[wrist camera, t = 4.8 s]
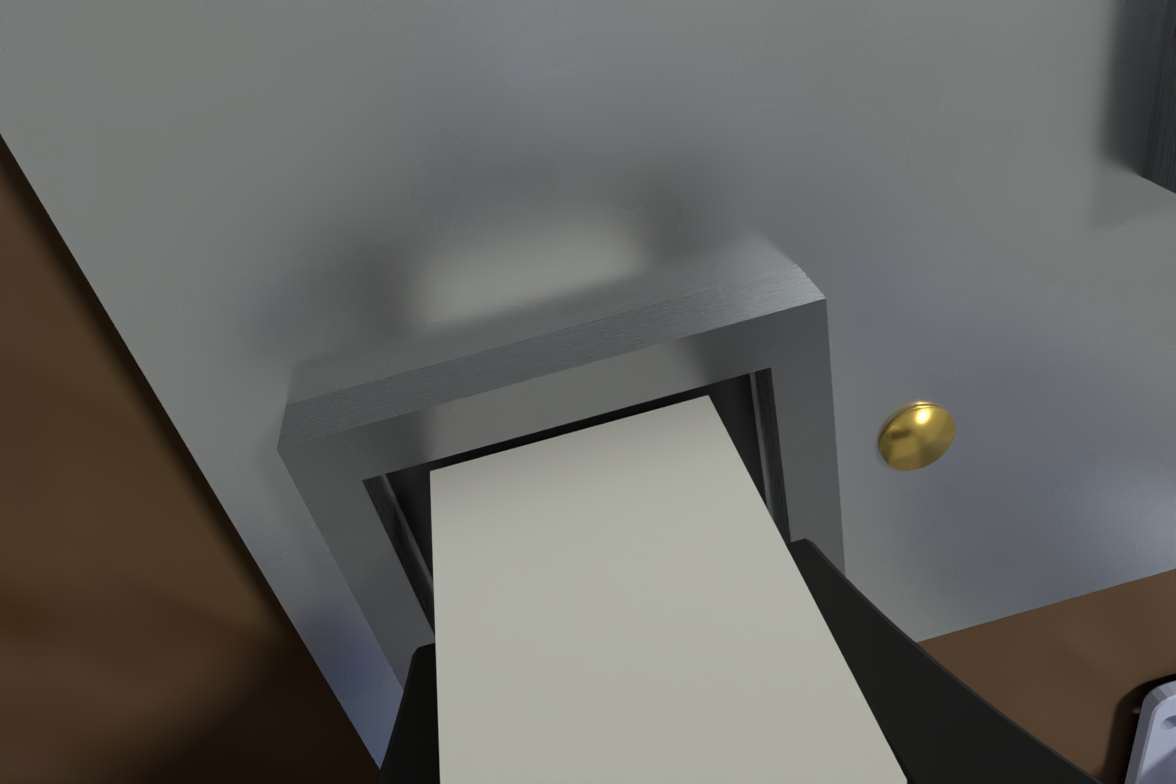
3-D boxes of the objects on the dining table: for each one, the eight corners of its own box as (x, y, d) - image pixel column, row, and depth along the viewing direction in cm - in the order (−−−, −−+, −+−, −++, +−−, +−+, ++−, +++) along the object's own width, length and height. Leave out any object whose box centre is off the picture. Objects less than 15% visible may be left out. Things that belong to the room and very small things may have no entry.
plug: (740, 590, 15) (935, 1049, 9) (504, 656, 15) (562, 1160, 9) (708, 395, 12) (942, 849, 7) (429, 471, 12) (446, 991, 7)
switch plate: (1456, 443, 18) (1563, 507, 16) (393, 745, 18) (391, 841, 16) (1983, -779, 9) (2336, -912, 7) (-159, -231, 9) (-296, -243, 7)
